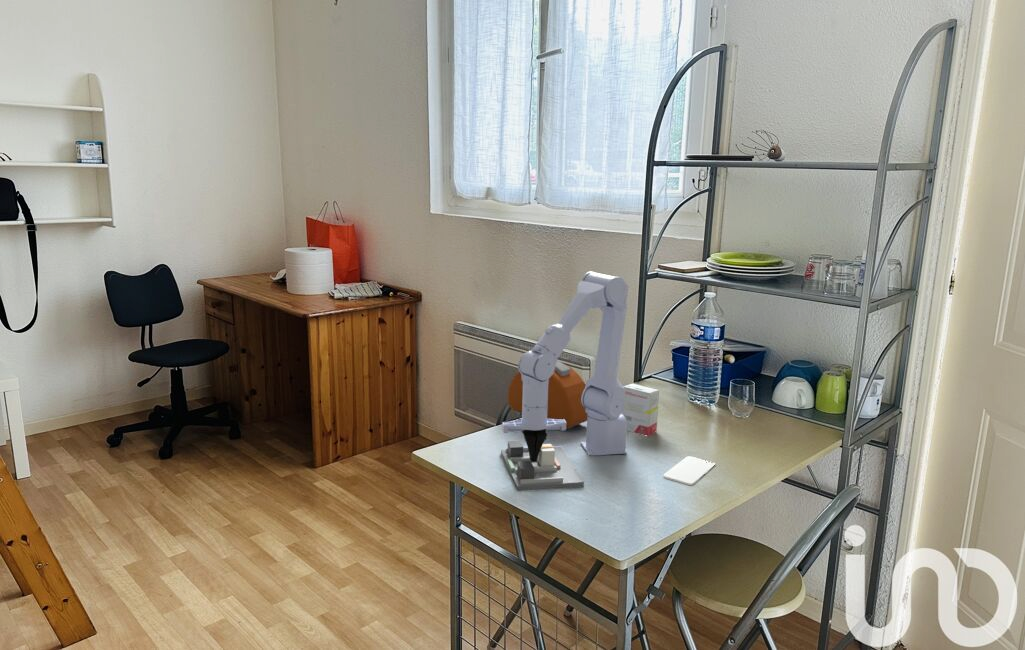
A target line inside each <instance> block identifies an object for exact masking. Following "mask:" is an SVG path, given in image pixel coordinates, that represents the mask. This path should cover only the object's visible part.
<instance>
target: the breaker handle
mask: <svg viewBox="0 0 1025 650" xmlns="http://www.w3.org/2000/svg"><path fill="white" fill-rule="evenodd" d="M553 447H554V446H553V445H552V443H543V445H542V447H541V449H540V452H539V455H538V462H539V464H540V466H541V467H542V466H554V463H555V450H554V448H553Z"/></svg>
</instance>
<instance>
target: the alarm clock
mask: <svg viewBox="0 0 1025 650" xmlns="http://www.w3.org/2000/svg"><path fill="white" fill-rule="evenodd" d="M521 377H522V376H521V373H520V372H519V371H517V372H516V373H515V374H514V376H513V377H512V379H511V380H510V384H509V386H508V389H507V390H508V391H507V400H508V406H509V407H510V409H511V410H513V411H515V412H516V415H517V416H522V398H523V381H522V380H521ZM585 386H586V382H585V381H584V380H583V378H582V377H581V376H580V375H579V374H578V372H576V370H575V369H573V368H572V367H570V366H569V365H567V364H565V363H563V362H561V361H559V360H557V363H556V365H555V370H554V373H553V375H552V376H551V377H550V378H549V380H548V408H547V419H564V420H565V421H566V430H568V429H570V428H573V427H576V426H579V425H580V424H583V423H587V413H586V412H585V411H586V408H585V407H583V405H582V402H581V396H582V393H583V391H584V389H585ZM558 430H559V431H564V430H561V429H558Z"/></svg>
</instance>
